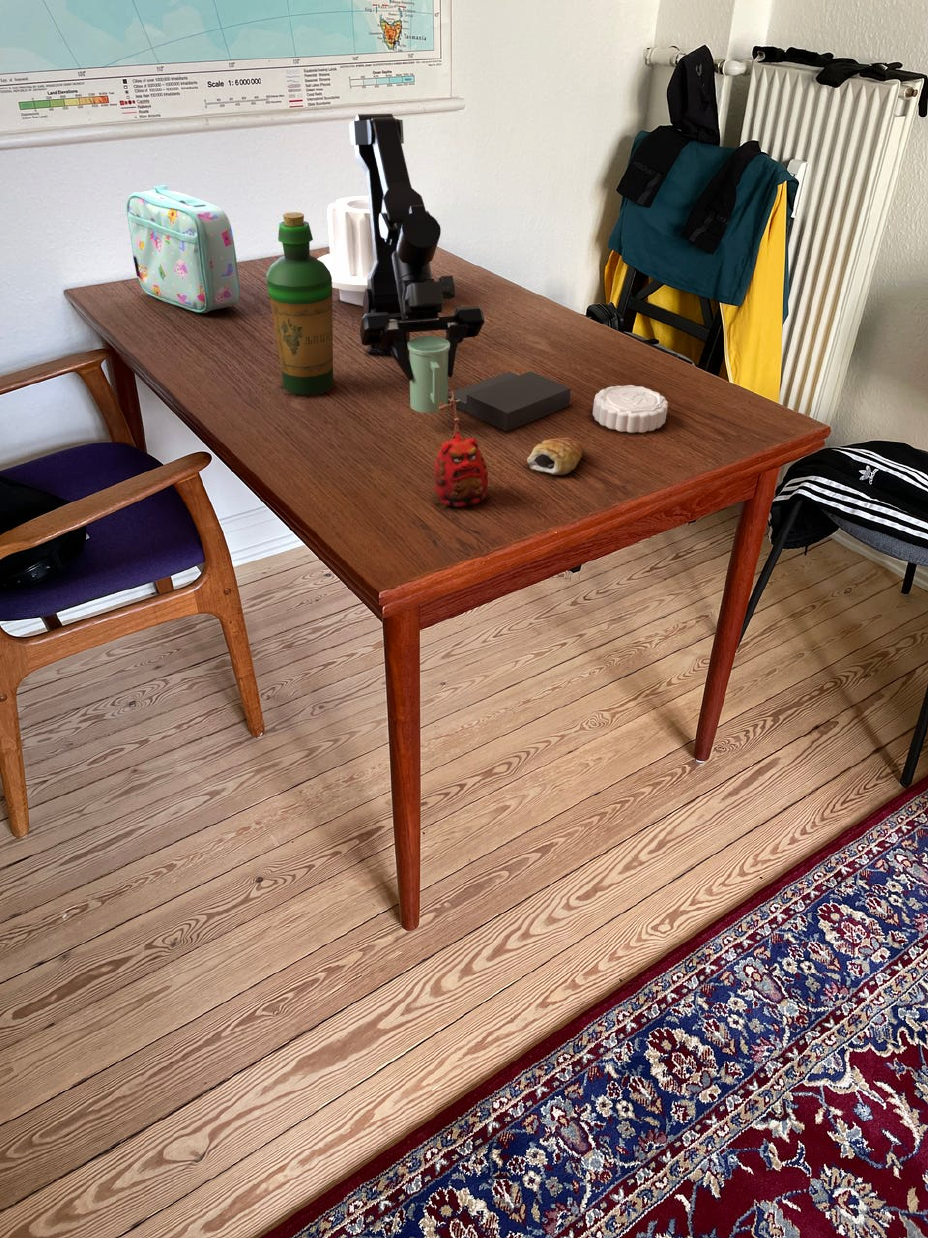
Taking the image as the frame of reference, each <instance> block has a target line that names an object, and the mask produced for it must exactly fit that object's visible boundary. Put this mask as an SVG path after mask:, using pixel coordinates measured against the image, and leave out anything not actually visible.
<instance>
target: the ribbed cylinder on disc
mask: <svg viewBox="0 0 928 1238" xmlns="http://www.w3.org/2000/svg"><path fill="white" fill-rule="evenodd" d="M326 211H327V214H326V215H327V226H328V228H327V229H328V241H329V253H328V254H324V255H322V256H320V257H317V259H318V260H320V261H322V262H323V263H324V264H325V265H326V267H327V268H328V270H329V271H330V273H331V276H332V289H333V288H334V289H337V290H339V301H341V302H344V303H348V304H352V305H357V306H361V307H363V299H364V293H365V288H368V286H367V278H368V276H369V274H370V271H371V269H372V267H373V265H374V253H373V242H372V231H371V220H370V209H369V198H368V195H353V196H348V197H343V198H337V199H336V200H335V201H334V202H330V203H329V204H328V207H327V210H326Z"/></svg>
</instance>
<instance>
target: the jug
mask: <svg viewBox="0 0 928 1238" xmlns="http://www.w3.org/2000/svg"><path fill="white" fill-rule="evenodd" d="M407 348H408V349H407V351H408V358H409V362H410V366H411V371H412V381H409V406H410V408H411V409H412V410H413V411H415V412H417V413H421V414H436V413H437V414H438V413H441V412H444V411H445V410H447V408H445V409H444V410H442V411H440V410H439V405H440V403H443V404H444V405H445V404H448V393H449V376H448V356H449V350H450V342H449V341H448V340H446V339H445V338H444V337H440V336H433V335H423V336H417V337H413V338H410V341H409V342H408V344H407Z"/></svg>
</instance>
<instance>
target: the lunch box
mask: <svg viewBox="0 0 928 1238" xmlns="http://www.w3.org/2000/svg"><path fill="white" fill-rule="evenodd" d="M126 219H127V224H128V229H129V234H130V235H129V236H130V242H131V251H132V258H133V264H134V269H135V275H136V277H138V281H139V284H140V286H141V288H142V289H143V291H144V292H145V293H146V294H147V295H149V296H151V297H153V298H155V299H158V300H159V301H162V302H164V303H166V304H170V305H172V306H176V307H179V308H182V309H185V310H188V311H191V312H194V313H198V314H207V313H210V312H211V311H215V310H219V309H224V308H228V307H229V308H231V307H234V306H235V307H236V306H237V305H238V303H239V301H240V279H239V268H238V261H237V254H236V247H235V241H234V235H233V230H232V225H231V222H230V219H229V217H228V214H226V213H225V211H224V210H223V209H222V208H220V207H219V206H217V205H216V204H215V205H214V204H212V203H210V202H207V201H205V200H202V199H199V198H196V197H193V196H190V195H188V194H185V193H182V192H178V191H175V190H170V189H168V186H167V185H165V184H164V185H154V186H153V189H149V190H148V191H141V192H133V193H131V194H130V195H129V197H128V199H127V202H126Z"/></svg>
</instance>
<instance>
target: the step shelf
mask: <svg viewBox="0 0 928 1238" xmlns="http://www.w3.org/2000/svg"><path fill="white" fill-rule="evenodd" d="M452 391H453V394H454V400H455V401H457V400H460V399H461V401H459V402H456V409H459V410H460V411H463V412H465V413H468V414H469V415H471V416H473V417H474V418H475V417H476V418H477V419H479V420H481V421H483V422H485V423H488V424H489V425H492V426H494V427H496V428H498V429H500V430H502V431H504V432H509V431H512V430H514V429H517V428H519V427H521V426H524V425H526V424H529V423H531V422H534V421H535V420H536V421H537V420H538V419H542V418H543V417H546V416H549V415H551V414H553V413H556V412H558V411H561V410H563V409H565V408H569V407H570V404H571V403H570V402H571V394H572V393H571V392H572V387H569V386H567V385H564V384H563V383H559V382H557V381H555V380H553V379H550V378H548V377H546V376H543V375H540V374H538V373H535V372H533V371H531V370H530V371H526V372H524V373H521V374H516V373H514V372H512V371H511V370H510V371H506V372H503V373H500V374H497V375H495V376H492V377H489V378H487V379H483V380H481V381H478V382H476V383H473V384H470V385H467V386H464V387H461V388H459V389H456V390H452ZM451 398H452V394H451V393H450V392H448V399H450V400H451ZM448 404H451V402H450V401H449V400H448Z"/></svg>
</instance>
